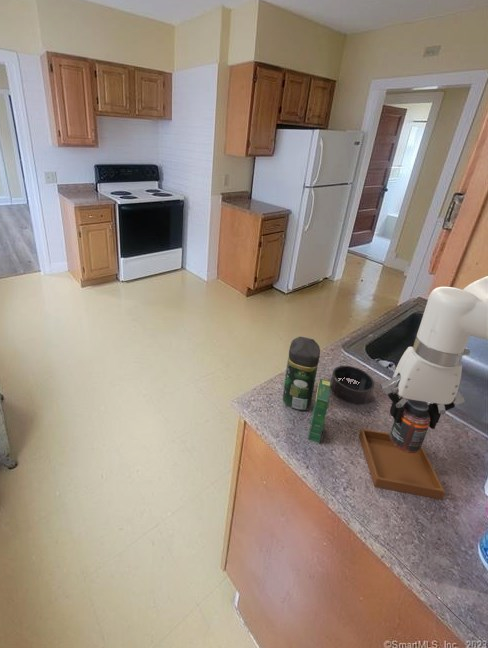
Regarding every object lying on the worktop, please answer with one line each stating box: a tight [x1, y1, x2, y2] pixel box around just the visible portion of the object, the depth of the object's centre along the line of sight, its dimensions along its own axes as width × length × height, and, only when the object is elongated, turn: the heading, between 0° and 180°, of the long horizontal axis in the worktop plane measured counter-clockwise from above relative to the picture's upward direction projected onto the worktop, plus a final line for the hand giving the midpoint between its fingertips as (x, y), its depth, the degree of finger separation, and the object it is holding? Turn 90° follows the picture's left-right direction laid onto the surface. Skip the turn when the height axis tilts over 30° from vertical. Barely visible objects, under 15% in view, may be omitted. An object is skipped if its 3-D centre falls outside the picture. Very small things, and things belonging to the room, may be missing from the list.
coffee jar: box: [282, 336, 321, 411], centre depth 88 cm, size 10×8×19 cm
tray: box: [358, 428, 446, 501], centre depth 73 cm, size 13×13×2 cm
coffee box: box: [307, 378, 331, 444], centre depth 79 cm, size 8×3×13 cm, turn 155°
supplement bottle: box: [389, 399, 431, 453], centre depth 69 cm, size 6×6×11 cm
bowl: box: [330, 365, 375, 406], centre depth 94 cm, size 11×11×4 cm
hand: (411, 420), depth 68 cm, fingers closed on supplement bottle, 6 cm apart
